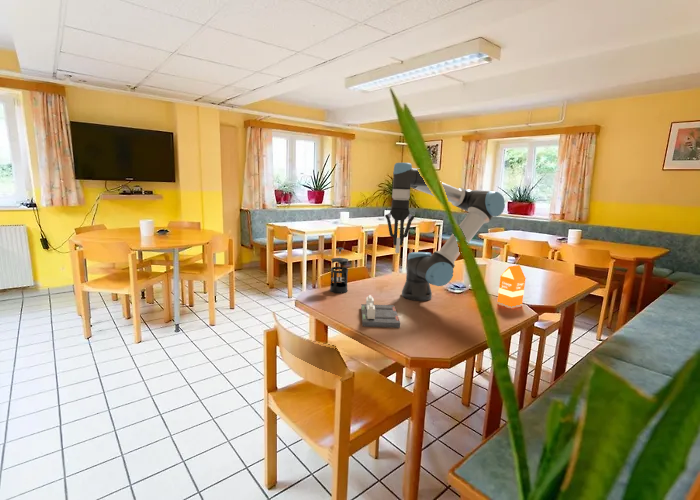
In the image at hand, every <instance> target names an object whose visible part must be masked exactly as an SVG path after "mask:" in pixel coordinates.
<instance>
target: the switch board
mask: <svg viewBox="0 0 700 500" xmlns="http://www.w3.org/2000/svg"><path fill="white" fill-rule="evenodd" d="M374 305H375V319H367V309H366V303H361V305H360V308H361V322H362V323H361V324H362V327H367V328H368V327H372V328H392V329H393V328H397V329H399V328H401V321H400V317H399V315H398V313H397V309H396V307H395V305H393V304H392V305H391V304H374Z"/></svg>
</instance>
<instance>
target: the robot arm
mask: <svg viewBox="0 0 700 500" xmlns="http://www.w3.org/2000/svg"><path fill="white" fill-rule="evenodd" d="M417 169H418V168H414V167H413V165H412V163H411V162H396V163H395V164H394V165H393V171H392V172H393V174H392V176H393V177H392V194H391V198H392V200H391V209H390V211H389V213H387V214H384V217H385V219H386V221H387V222H386V223H387V227H388V228H387V229H388V232H389V235H390V237H392V238H393V243H392V244H393V246H395V248H394V249H395V250H394V253H396V254H400V251H401V248H400V246H403V239H404V238H407V237H408V234H409V231H410V228H411V225H412V222H413V221H414V220H415V216H414V215H412V214H411V213H410V207H409V206H410V197H411V195H410V193H411V188H412V189H415V190H417V191H420V192H423V193H425V194H428V195H430V196H433V197H435V196H434V195H433V194H432V193H431V191H430V190H429V188H428V187H427V185H426V184H425V182H424V180H423V178H422V177H421V176H420V174H419V172H418V170H417ZM442 185H443V187H444V189H445V192H446V195H447V198H448V201H447V202H449V203H451V205H452V206H454V207H457V208H460V209H461V210H463V211H466V212H468V213H467V214H466V216H465V217H464V219H463V220H462V221H461V222H460V223H459V225H458V226H460V228H461V229H462V231H463V233H464V235H465V237H466V239H467V241H468V244H469V243H470V242H471V240H472V239H473V238H474V237H475V236H476V234H477V233H478V231H479V230H480V229H481V228H482V226H483V225H484V224H488V223H490V221H491V220H492V218H493V217H499V216H501V215H502V214H503V212H504V210H505V207H506V203H505V202H506V200H505V198H504V196H503V194H502V193H501V192H499V191H494V190H479V189H477V190H475V189H466V188H463V187H458V188H457V187H455V186H452V185H450V184H447V183H445V182H442ZM391 218H393V220H394V224H393V226H394V228H393V227H392V220H391ZM407 218H408V220H407V222H406V226H405V220H406V219H407ZM398 225H399V227H398ZM404 226H405V227H404ZM404 228H405V230H404ZM398 229H399V237H398ZM460 255H461V254H460V252H459V247H458V244H457V241H456V238H455V236H454V234H453V233H452V234H451V235H450V236H449V238H448V239H447V240H446V242H445V243H444V244H443V246H442V247H441V248H440V250H436V251H434V252H433V253H432V252H428V251H427V252H425V251H415V252H413V251H411V252H409V253H408V254H407V260H406V261H407V264H406V280H405V282H404V285H403V287H402V289H401V296H402V297H403V298H404V299H407V300H411V301H419V302H423V301H429V300H431V299H432V297H433V295H432V294H433V292H432V289H431V285H432V286H435V287H436V286H437V287H442V286H446V285H447V284H449V283H450V282H451V281H452V279H453V276H454V268H455V267H456V265H455V261H456V260H457V259H458V257H459V256H460Z"/></svg>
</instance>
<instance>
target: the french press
mask: <svg viewBox="0 0 700 500" xmlns="http://www.w3.org/2000/svg"><path fill="white" fill-rule="evenodd" d="M335 249H336V250H338V251H339V253H341V252H342V250H345V249H344V248H343V247H336V248H335ZM330 259H331V260H330V261H331V264H332V265H333V264H334V263H338V265H339V266H332V267H331V268H330V287H329V288H330V289H329V292H331V293H332V294H346V293H348V291H349V290H348V275H349V273H348V272H349V268H348V267H346V265H348V262H349V259H348V258H344V257H333V258H330ZM340 274H341V275H340Z"/></svg>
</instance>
